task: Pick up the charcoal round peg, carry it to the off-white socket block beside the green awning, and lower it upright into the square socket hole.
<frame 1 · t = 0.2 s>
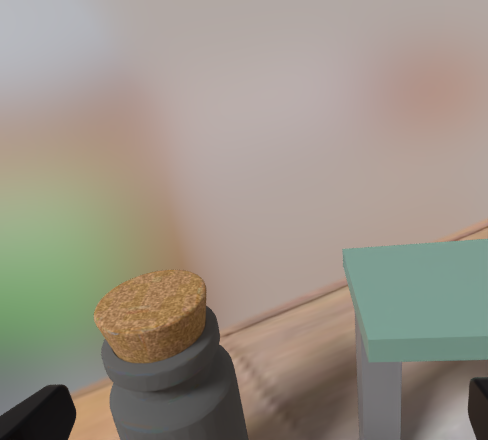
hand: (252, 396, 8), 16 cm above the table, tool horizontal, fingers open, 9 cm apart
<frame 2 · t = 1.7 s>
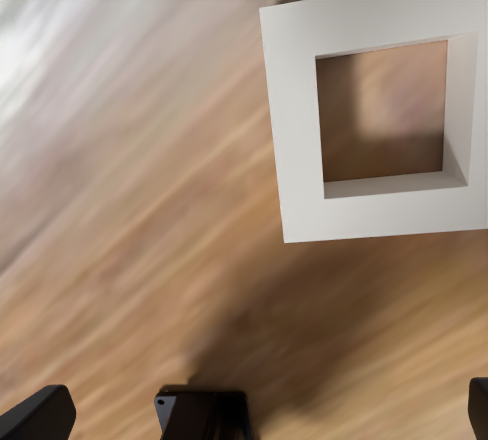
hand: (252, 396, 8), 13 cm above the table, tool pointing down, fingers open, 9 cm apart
socket block: (378, 117, 18), on the table
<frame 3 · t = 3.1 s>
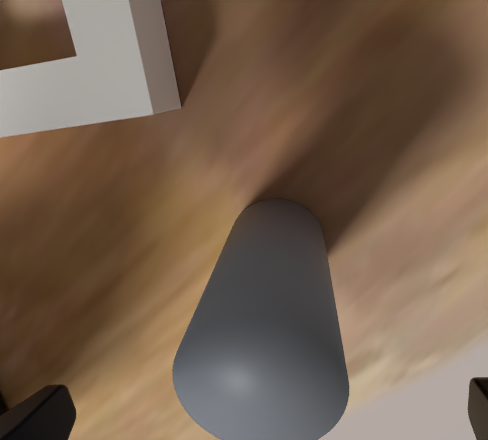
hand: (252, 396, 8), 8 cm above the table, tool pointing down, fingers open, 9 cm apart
peg: (276, 243, 16), on the table
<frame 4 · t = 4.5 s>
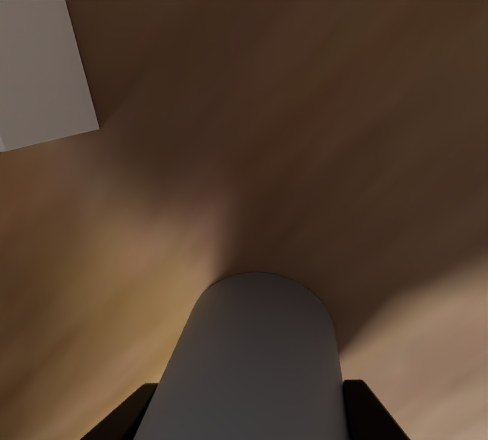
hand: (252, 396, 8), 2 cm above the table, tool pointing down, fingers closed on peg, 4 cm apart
peg: (260, 337, 10), on the table, touching gripper
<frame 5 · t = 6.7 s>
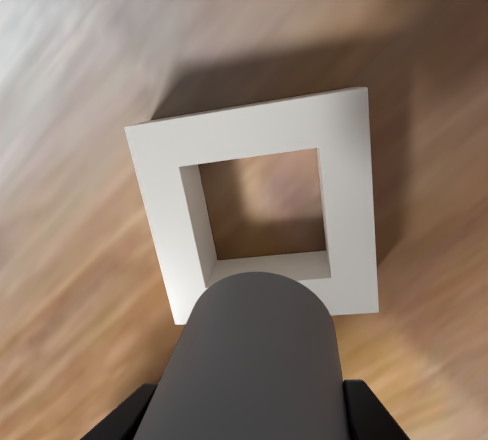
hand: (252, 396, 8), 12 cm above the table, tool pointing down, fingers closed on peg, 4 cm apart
peg: (260, 336, 10), point 10 cm above the table, touching gripper
socket block: (262, 203, 19), on the table
when the fingers open (4 cm above the table, at t = 8.9 s): peg drops 2 cm, resting in socket block.
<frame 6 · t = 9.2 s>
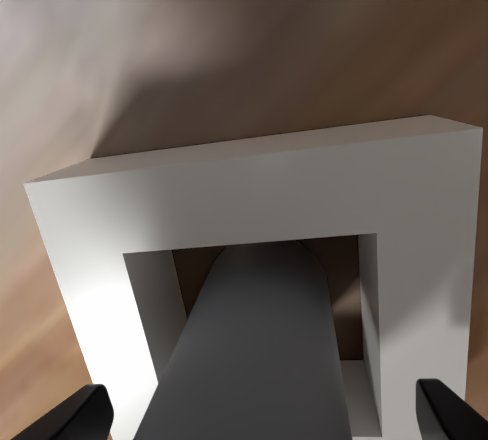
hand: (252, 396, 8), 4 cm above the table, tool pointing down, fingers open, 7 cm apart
peg: (267, 289, 12), resting in socket block
socket block: (267, 289, 12), on the table
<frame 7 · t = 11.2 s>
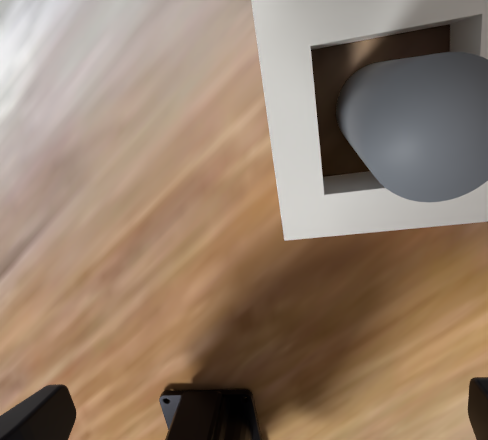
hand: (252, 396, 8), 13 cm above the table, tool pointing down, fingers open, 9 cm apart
peg: (379, 107, 17), resting in socket block
socket block: (379, 107, 17), on the table
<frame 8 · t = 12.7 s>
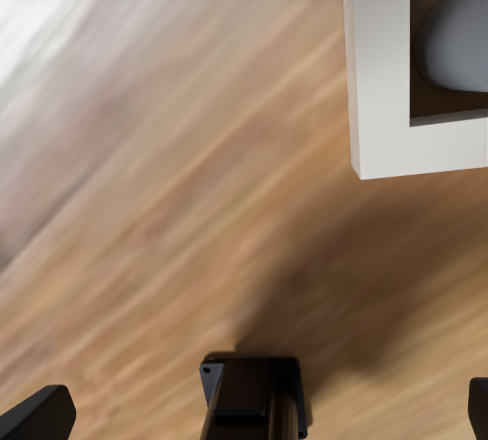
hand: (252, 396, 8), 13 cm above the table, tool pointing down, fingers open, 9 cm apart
peg: (461, 42, 17), resting in socket block
socket block: (461, 42, 17), on the table
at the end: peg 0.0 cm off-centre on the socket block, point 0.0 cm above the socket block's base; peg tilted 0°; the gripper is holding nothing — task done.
